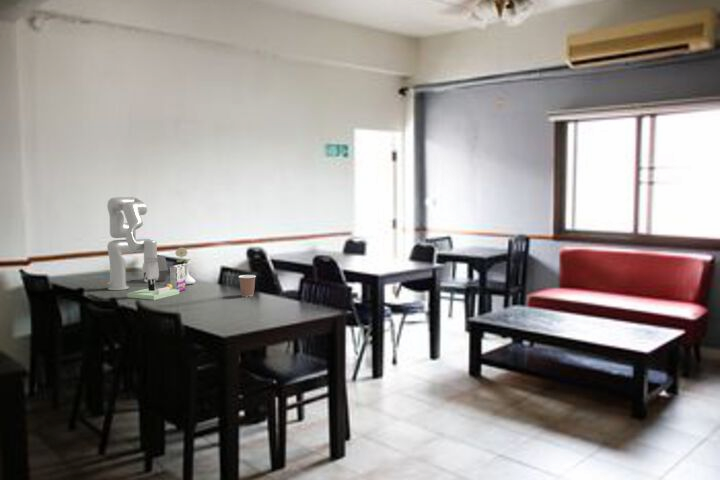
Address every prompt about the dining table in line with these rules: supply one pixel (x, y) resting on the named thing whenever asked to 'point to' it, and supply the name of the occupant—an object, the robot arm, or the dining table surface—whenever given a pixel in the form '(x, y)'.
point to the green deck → (151, 295)
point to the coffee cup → (247, 285)
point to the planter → (162, 268)
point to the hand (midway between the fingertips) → (151, 290)
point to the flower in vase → (182, 253)
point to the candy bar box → (178, 277)
